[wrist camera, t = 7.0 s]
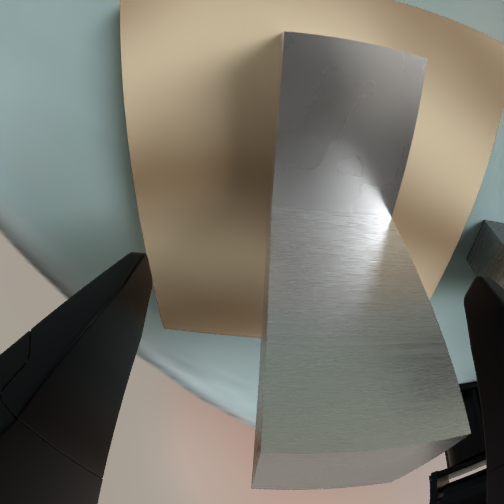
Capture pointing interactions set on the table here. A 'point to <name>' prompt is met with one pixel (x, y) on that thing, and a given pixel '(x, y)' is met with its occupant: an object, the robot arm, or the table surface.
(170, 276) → the board
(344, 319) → the brushed metal step block
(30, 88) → the table surface
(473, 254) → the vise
